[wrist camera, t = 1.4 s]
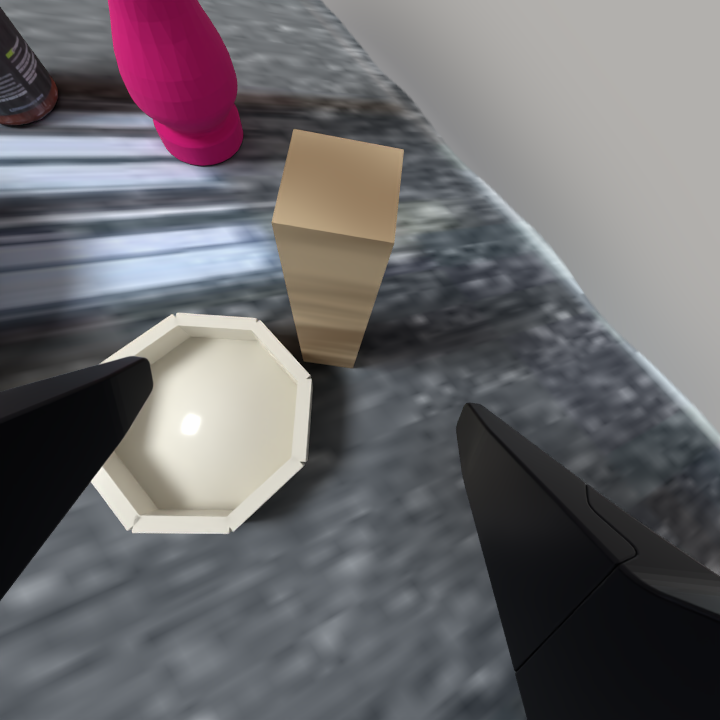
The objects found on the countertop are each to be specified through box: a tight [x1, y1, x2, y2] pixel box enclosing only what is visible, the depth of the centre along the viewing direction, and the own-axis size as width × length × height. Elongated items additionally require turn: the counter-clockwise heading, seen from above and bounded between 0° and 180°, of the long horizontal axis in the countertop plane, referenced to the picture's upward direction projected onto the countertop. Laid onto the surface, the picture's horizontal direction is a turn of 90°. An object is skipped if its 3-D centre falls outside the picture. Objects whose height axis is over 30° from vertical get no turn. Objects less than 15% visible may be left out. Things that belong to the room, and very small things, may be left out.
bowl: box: [91, 313, 313, 534], centre depth 19 cm, size 12×12×2 cm
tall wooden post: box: [272, 129, 404, 368], centre depth 16 cm, size 3×3×14 cm
